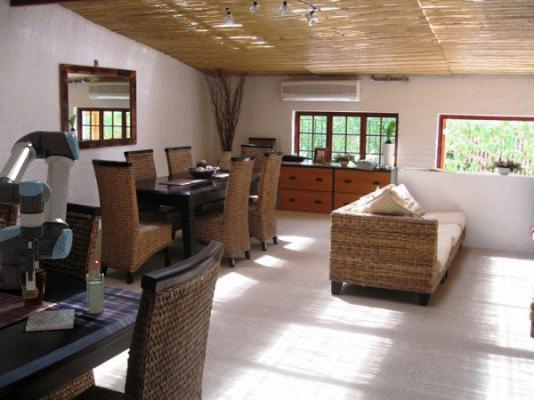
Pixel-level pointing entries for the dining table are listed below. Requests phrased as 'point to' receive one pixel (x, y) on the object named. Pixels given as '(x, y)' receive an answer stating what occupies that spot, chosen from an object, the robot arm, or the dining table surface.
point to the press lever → (95, 271)
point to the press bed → (50, 320)
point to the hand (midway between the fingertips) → (32, 284)
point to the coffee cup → (34, 296)
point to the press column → (95, 296)
